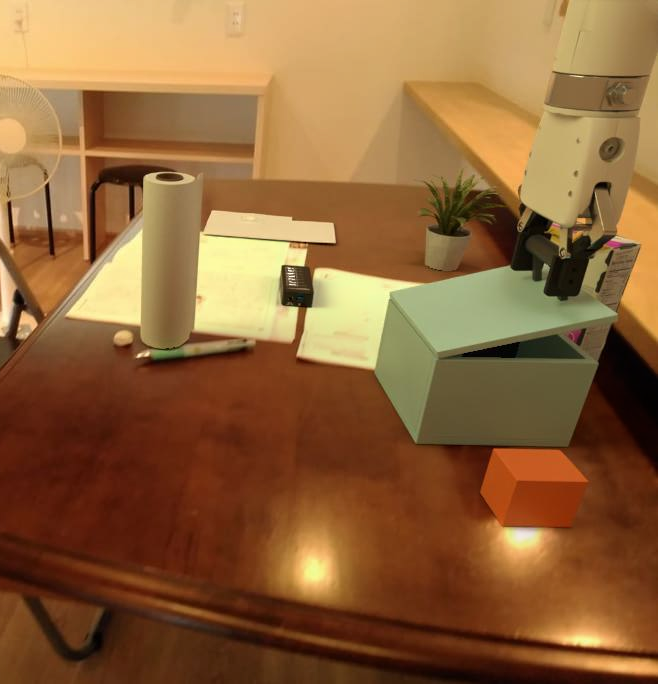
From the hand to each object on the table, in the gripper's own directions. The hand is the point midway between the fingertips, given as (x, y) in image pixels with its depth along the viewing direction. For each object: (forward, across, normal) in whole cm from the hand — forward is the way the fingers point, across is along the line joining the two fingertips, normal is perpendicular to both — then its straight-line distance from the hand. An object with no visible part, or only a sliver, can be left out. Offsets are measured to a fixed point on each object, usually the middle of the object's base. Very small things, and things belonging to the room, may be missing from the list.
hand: (542, 280), depth 69 cm
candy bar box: (+16, +14, -12) cm, 24 cm away
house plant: (+15, +44, -8) cm, 48 cm away
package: (+15, -17, +6) cm, 24 cm away
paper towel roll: (+14, +15, +38) cm, 43 cm away
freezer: (+15, 0, +5) cm, 16 cm away
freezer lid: (+3, 0, +4) cm, 5 cm away
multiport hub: (+15, +32, +18) cm, 39 cm away
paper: (+14, +64, +17) cm, 68 cm away
